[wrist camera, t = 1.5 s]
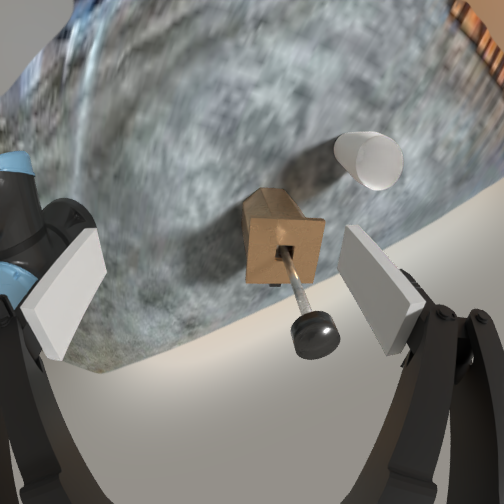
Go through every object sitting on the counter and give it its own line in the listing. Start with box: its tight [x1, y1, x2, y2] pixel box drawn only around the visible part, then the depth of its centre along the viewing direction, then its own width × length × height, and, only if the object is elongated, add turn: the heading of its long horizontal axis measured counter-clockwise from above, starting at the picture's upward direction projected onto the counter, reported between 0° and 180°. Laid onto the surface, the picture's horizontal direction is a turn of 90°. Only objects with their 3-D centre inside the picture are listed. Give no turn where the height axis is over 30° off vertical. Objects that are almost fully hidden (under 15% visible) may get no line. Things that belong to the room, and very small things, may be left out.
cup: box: [334, 132, 403, 190], centre depth 43 cm, size 9×9×12 cm
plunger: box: [275, 245, 340, 360], centre depth 34 cm, size 8×8×20 cm
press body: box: [241, 188, 325, 287], centre depth 47 cm, size 10×13×15 cm
